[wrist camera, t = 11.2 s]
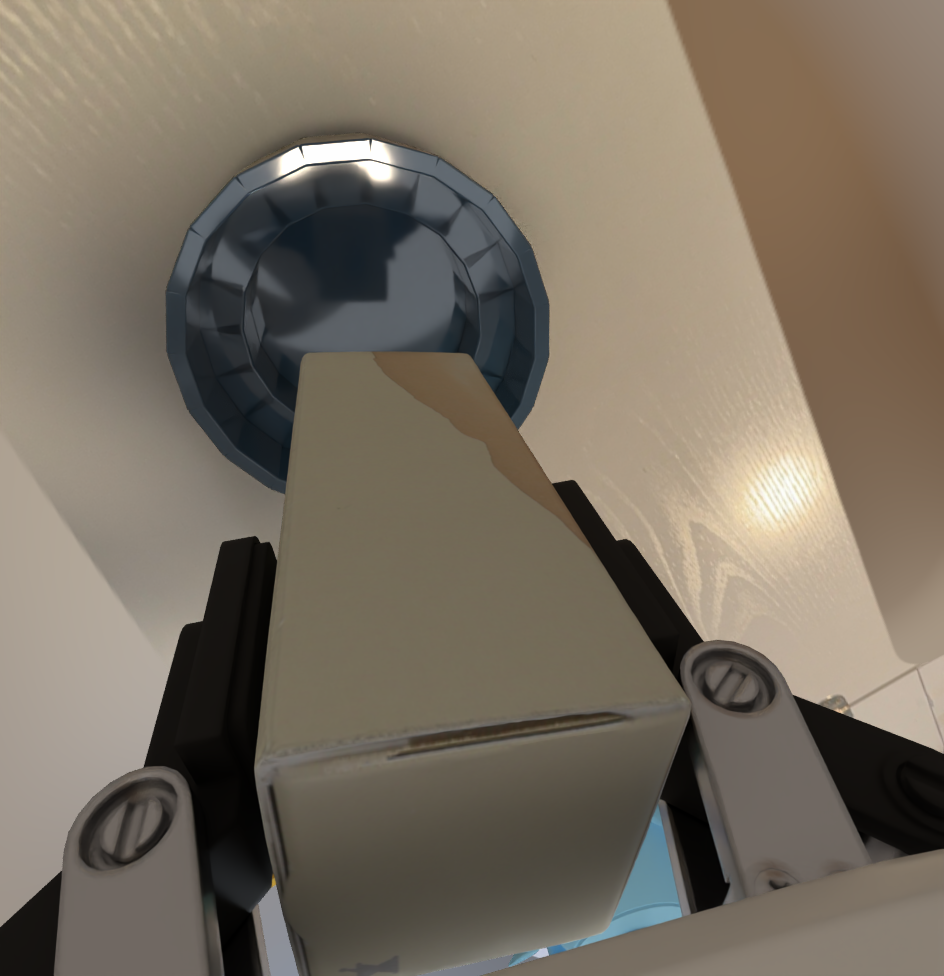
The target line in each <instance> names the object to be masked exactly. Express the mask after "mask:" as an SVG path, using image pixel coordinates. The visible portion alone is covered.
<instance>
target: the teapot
mask: <svg viewBox="0 0 944 976" xmlns="http://www.w3.org/2000/svg"><path fill="white" fill-rule="evenodd" d="M680 917H682V914H681V909H680V904H679V900H678V895H677V890H676V886H675V881H674V876H673V872H672V867H671V862H670V858H669V853H668V848H667V844H666V839H665V834H664V830H663V825H662V820H661V816H660V811H659V806H658V805H657V808H656V810H655V813H654V815H653V817H652V820H651V823H650V826H649V829H648V832H647V835H646V838H645V840H644V842H643V844H642V847H641V849H640V852H639V855H638V858H637V859H636V861H635V865H634V868H633V870H632V872H631V874H630V877H629V880H628V883H627V885H626V887H625V889H624V892H623V894H622V897H621V899H620V902H619V904H618V907H617V909H616V911H615V913H614V916H613V918H612V921H611V923H610V925H609V927H608V928H607V930H605V931H604V932H603V933H602V934H598V935H595V936H591V937H588V938H584V939H580V940H576V941H572V942H568V943H564V944H560V945H555V946H551V947H547V949H548V953H549V956H550V955H553V954H556V953H560V952H563V951H567V950H570V949H573V948H577V947H580V946H584V945H587V944H590V943H594V942H597V941H601V940H604V939H608V938H611V937H614V936H618V935H621V934H625V933H628V932H632V931H635V930H639V929H642V928H646V927H649V926H652V925H656V924H659V923H663V922H666V921H670V920H673V919H677V918H680ZM538 951H539V949H537V950H532V951H527V952H522V953H517V954H514V955H513V958H512V959H511V961H510V963H509V967H510V966H513V965H515V964H517V963H519V962H522V961H523V960H525V959H527V958H529V957H531V956H532V955H534V954H535V953H537V952H538Z"/></svg>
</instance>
